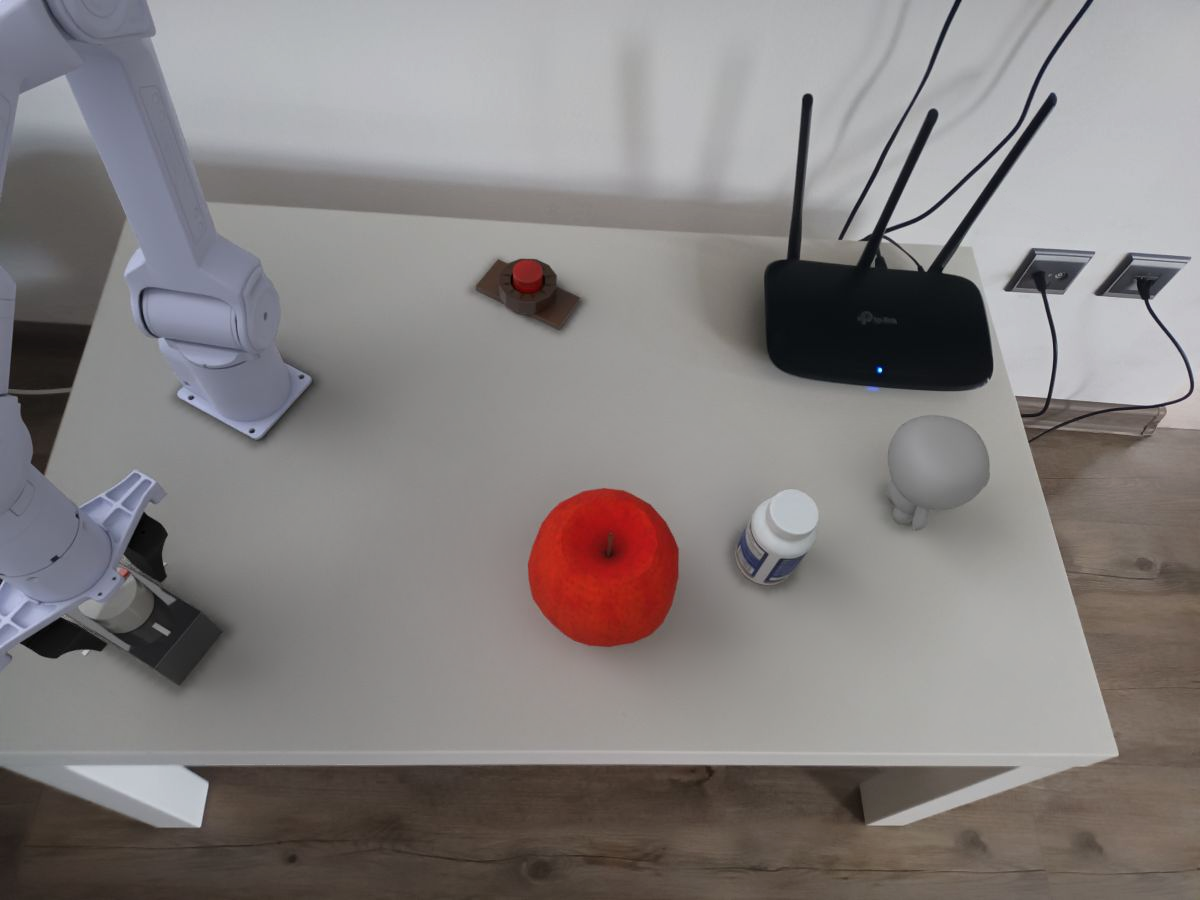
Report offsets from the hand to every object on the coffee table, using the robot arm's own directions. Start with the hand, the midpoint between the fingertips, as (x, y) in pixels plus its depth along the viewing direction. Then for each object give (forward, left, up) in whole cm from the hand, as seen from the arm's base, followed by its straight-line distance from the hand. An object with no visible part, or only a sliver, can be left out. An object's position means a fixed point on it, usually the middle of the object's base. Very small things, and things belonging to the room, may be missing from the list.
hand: (124, 606), depth 61 cm
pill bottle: (+41, +31, -5) cm, 51 cm away
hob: (0, 0, -5) cm, 5 cm away
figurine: (+50, +42, -5) cm, 65 cm away
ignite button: (+8, +45, -3) cm, 46 cm away
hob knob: (0, 0, 0) cm, 0 cm away
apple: (+30, +20, -5) cm, 36 cm away
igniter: (+8, +45, -5) cm, 46 cm away
